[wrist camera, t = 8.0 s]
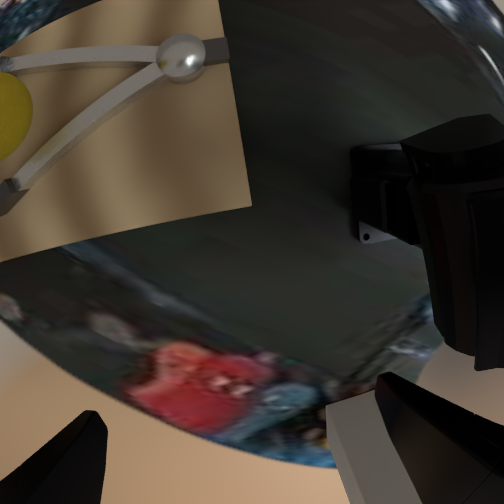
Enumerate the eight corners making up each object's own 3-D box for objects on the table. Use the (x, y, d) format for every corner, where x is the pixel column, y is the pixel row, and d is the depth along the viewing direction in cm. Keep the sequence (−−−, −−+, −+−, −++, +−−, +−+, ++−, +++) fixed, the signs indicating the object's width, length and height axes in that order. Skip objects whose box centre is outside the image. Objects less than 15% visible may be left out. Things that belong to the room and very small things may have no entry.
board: (213, -19, 13) (213, -27, 12) (250, 203, 18) (252, 206, 17) (-19, 75, 12) (-27, 73, 11) (2, 258, 17) (-6, 263, 16)
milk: (383, 385, 24) (494, 564, 3) (377, 421, 26) (461, 577, 5) (323, 405, 24) (409, 615, 3) (325, 439, 26) (389, 614, 5)
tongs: (215, -16, 12) (215, -34, 10) (243, 151, 16) (246, 149, 14) (-8, 69, 12) (-25, 65, 10) (3, 215, 15) (-15, 222, 13)
